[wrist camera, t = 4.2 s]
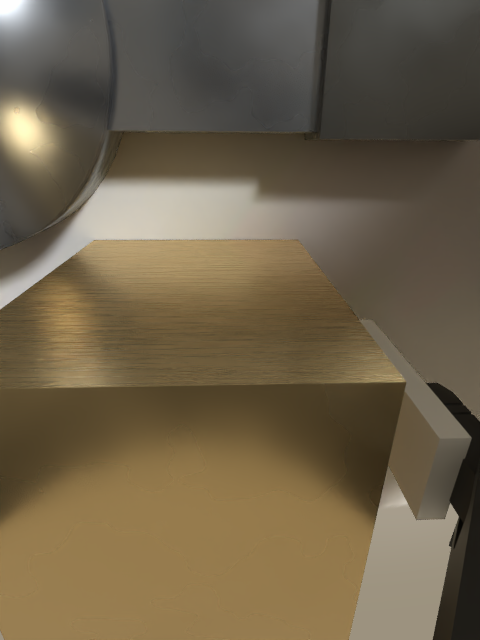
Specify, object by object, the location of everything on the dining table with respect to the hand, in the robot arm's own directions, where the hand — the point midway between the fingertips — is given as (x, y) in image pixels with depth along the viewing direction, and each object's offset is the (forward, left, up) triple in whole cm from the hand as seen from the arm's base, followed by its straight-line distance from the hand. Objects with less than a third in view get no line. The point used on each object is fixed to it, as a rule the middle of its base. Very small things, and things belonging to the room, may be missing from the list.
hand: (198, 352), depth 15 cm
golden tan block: (0, 0, -2) cm, 2 cm away
